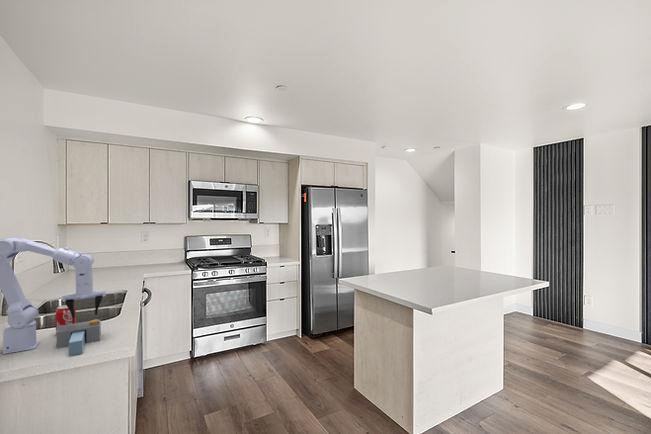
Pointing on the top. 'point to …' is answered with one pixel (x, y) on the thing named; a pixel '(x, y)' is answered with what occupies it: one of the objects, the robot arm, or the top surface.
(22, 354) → the top surface
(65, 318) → the soda can
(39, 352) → the top surface
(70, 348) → the block
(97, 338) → the housing
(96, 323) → the plunger
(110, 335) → the top surface
